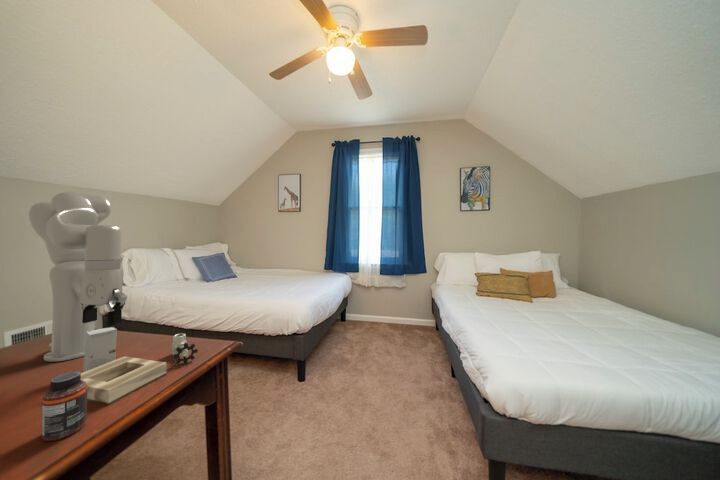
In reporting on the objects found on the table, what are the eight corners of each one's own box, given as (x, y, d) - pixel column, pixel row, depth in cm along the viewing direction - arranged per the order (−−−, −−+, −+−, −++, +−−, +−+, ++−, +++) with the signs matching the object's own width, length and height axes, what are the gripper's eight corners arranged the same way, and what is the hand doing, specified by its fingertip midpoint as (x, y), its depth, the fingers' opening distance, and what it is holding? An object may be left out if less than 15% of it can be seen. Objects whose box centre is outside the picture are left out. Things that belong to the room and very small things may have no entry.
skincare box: (86, 377, 70) (87, 335, 70) (82, 373, 72) (84, 331, 72) (116, 368, 75) (117, 328, 75) (111, 364, 77) (112, 326, 77)
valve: (166, 355, 84) (172, 367, 76) (166, 336, 84) (173, 346, 76) (188, 349, 89) (197, 360, 81) (189, 331, 89) (198, 340, 81)
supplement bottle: (65, 421, 53) (67, 368, 53) (95, 420, 54) (96, 368, 54) (30, 443, 47) (32, 384, 47) (64, 442, 48) (66, 383, 48)
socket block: (60, 395, 62) (60, 381, 62) (124, 367, 75) (124, 356, 75) (108, 405, 58) (108, 390, 58) (166, 374, 72) (166, 362, 72)
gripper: (65, 266, 72) (63, 324, 72) (110, 267, 68) (108, 329, 68) (97, 264, 79) (96, 317, 79) (139, 265, 76) (138, 321, 75)
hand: (101, 322), depth 73 cm, fingers open, 9 cm apart
